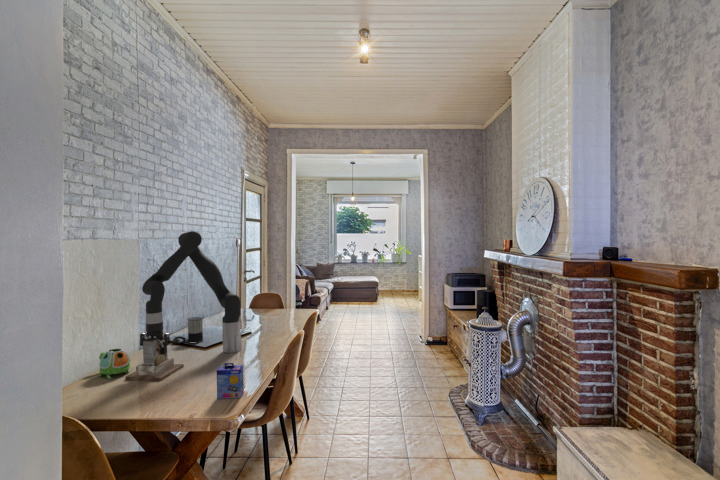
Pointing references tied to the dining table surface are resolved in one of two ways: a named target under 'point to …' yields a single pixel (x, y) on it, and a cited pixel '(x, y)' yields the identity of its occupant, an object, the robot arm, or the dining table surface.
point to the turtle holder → (114, 362)
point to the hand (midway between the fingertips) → (155, 354)
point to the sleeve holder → (155, 371)
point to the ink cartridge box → (230, 381)
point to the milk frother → (192, 331)
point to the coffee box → (153, 352)
